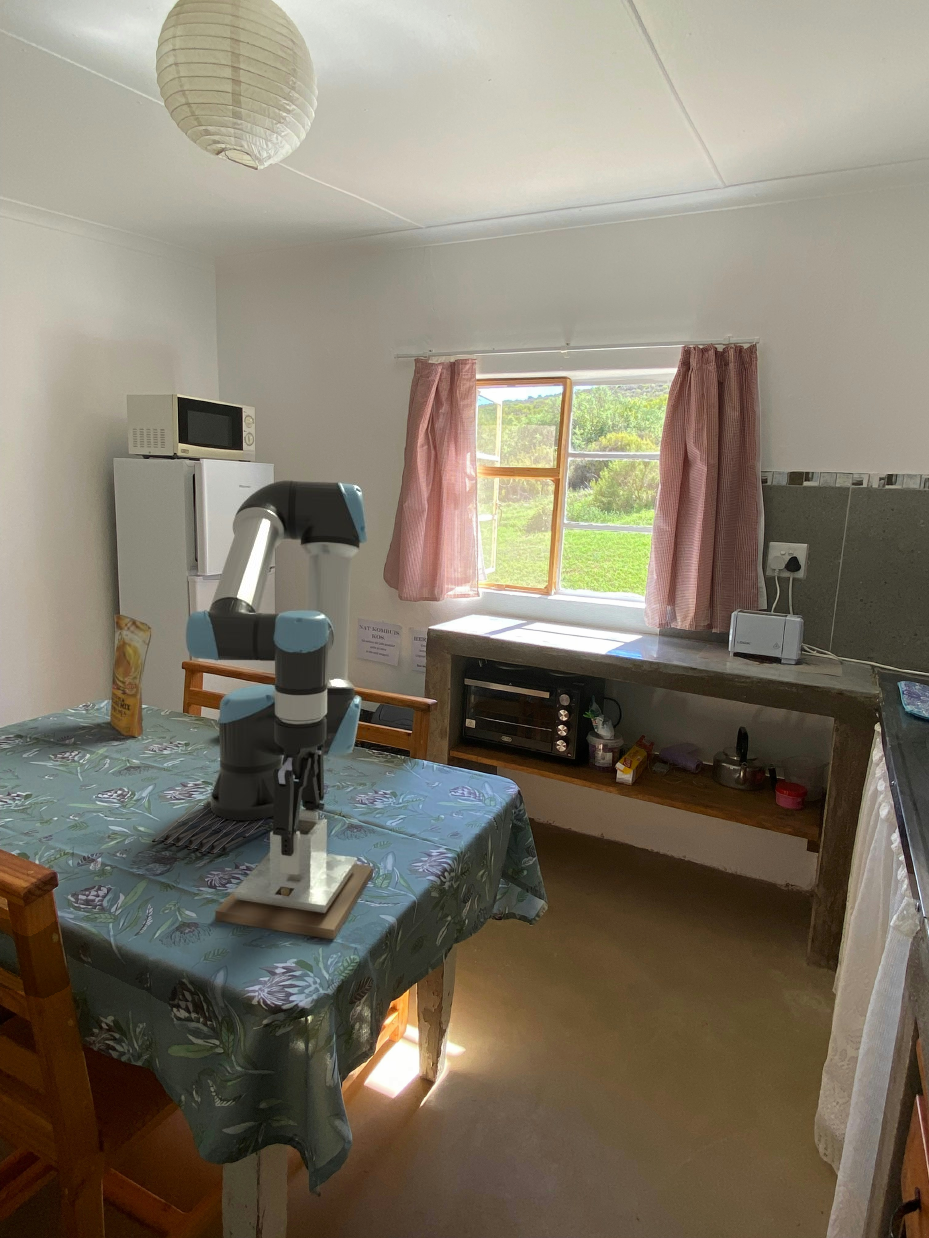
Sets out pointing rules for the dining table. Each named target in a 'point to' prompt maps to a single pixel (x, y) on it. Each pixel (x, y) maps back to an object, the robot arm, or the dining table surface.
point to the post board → (298, 910)
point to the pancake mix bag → (128, 674)
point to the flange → (300, 872)
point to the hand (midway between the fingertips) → (299, 860)
